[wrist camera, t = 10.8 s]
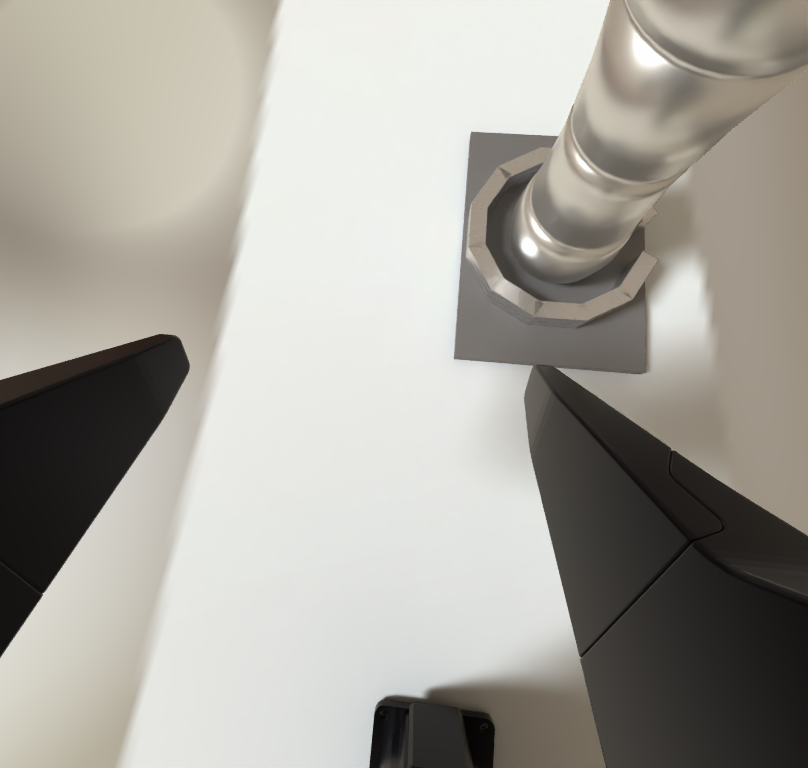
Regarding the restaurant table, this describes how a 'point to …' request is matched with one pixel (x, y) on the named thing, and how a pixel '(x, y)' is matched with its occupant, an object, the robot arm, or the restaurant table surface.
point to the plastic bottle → (650, 120)
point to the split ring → (514, 297)
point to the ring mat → (541, 287)
